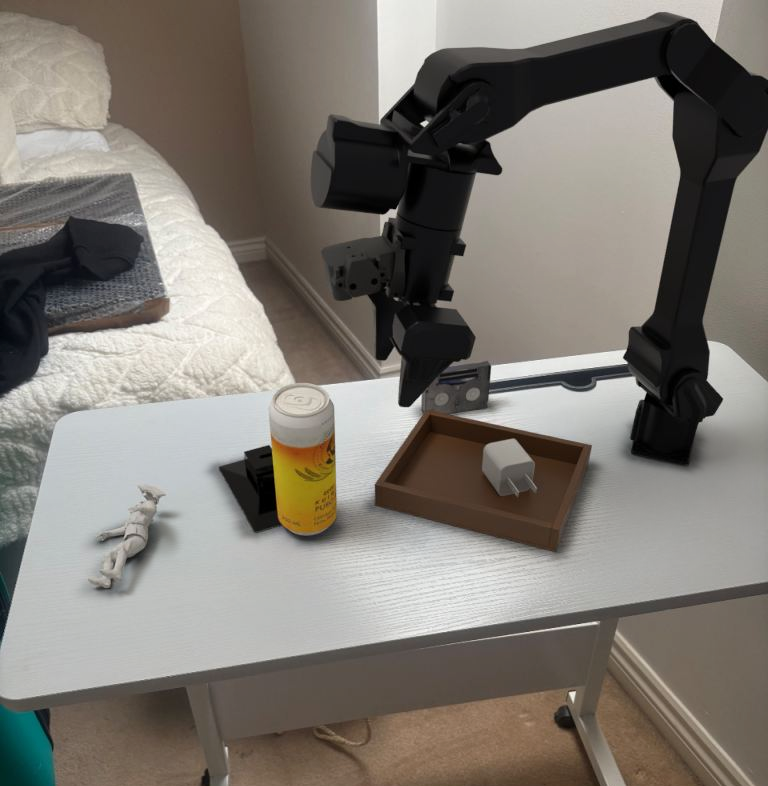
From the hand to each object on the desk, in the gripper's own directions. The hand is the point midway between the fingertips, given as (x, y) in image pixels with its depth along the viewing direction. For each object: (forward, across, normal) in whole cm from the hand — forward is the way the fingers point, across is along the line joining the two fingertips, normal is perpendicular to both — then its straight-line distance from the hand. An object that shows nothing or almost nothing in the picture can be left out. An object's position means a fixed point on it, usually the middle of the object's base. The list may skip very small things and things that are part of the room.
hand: (391, 382), depth 79 cm
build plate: (+17, -6, -9) cm, 20 cm away
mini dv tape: (+12, -16, +15) cm, 25 cm away
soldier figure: (+21, +1, -23) cm, 31 cm away
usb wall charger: (+12, +1, +16) cm, 20 cm away
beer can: (+16, +1, -6) cm, 17 cm away
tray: (+12, -1, +14) cm, 18 cm away
